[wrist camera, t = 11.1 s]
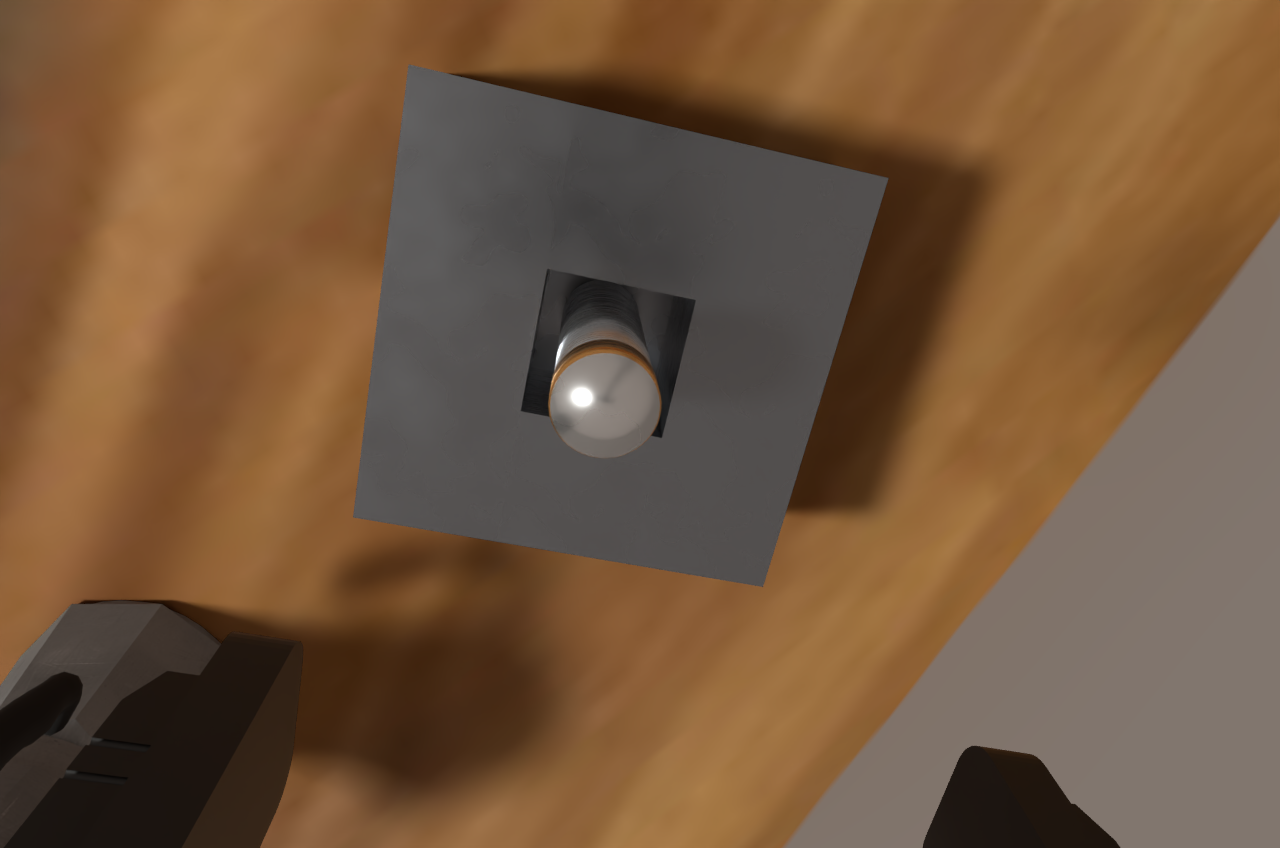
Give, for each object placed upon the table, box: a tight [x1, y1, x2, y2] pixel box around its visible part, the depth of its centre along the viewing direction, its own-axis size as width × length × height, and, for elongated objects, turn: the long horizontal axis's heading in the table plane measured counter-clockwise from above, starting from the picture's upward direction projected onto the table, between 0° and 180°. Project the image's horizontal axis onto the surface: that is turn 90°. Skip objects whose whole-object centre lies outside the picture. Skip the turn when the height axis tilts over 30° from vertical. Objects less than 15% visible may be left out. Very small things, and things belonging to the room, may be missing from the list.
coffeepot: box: [0, 600, 221, 848], centre depth 28 cm, size 15×9×18 cm, turn 156°
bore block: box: [353, 65, 889, 587], centre depth 29 cm, size 14×14×6 cm
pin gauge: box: [548, 280, 661, 458], centre depth 26 cm, size 3×3×10 cm
